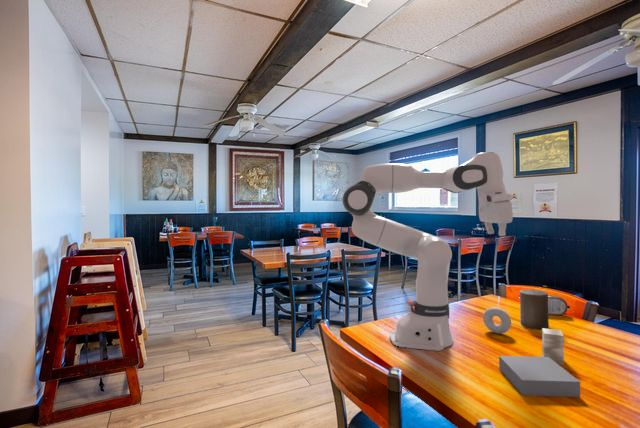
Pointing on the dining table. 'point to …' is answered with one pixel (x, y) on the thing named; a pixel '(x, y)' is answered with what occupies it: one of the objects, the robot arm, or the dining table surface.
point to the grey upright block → (553, 345)
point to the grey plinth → (539, 376)
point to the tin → (556, 305)
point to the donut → (501, 314)
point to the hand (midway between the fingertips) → (496, 234)
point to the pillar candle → (534, 309)
